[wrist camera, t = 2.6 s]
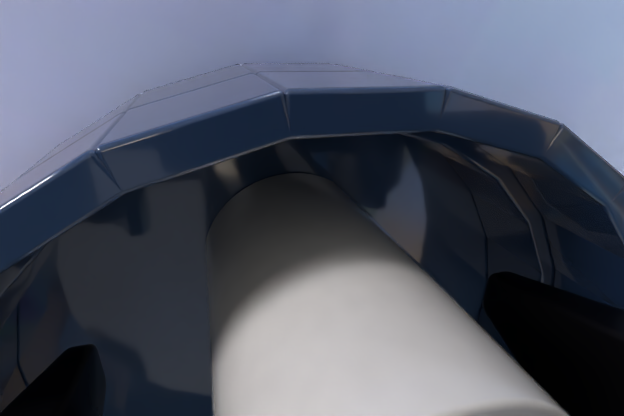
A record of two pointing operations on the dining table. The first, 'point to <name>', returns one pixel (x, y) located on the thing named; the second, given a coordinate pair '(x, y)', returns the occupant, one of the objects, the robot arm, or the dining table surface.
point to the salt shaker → (341, 317)
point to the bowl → (266, 163)
